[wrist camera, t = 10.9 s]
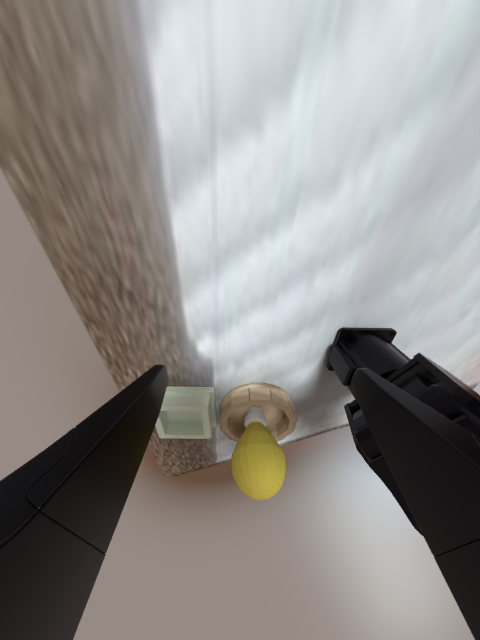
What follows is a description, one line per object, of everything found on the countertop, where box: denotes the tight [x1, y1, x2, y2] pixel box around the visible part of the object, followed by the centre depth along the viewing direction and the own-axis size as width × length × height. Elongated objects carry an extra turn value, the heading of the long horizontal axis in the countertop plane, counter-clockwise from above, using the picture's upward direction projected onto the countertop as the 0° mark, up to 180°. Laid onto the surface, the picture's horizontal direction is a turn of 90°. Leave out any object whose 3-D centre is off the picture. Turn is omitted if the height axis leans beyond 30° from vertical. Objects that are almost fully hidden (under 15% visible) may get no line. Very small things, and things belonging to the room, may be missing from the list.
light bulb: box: [232, 407, 286, 500], centre depth 24 cm, size 7×7×10 cm
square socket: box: [155, 386, 217, 439], centre depth 28 cm, size 9×9×3 cm
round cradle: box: [220, 383, 297, 442], centre depth 28 cm, size 11×11×3 cm
